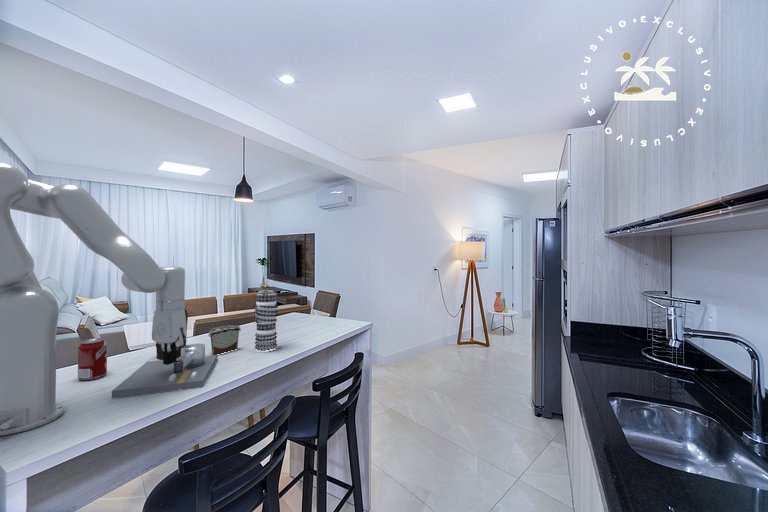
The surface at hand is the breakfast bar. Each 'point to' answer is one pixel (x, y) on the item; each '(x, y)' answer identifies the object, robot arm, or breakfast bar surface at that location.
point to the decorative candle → (266, 320)
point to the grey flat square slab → (164, 378)
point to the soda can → (92, 359)
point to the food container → (224, 339)
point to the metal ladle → (190, 357)
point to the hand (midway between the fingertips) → (169, 363)
